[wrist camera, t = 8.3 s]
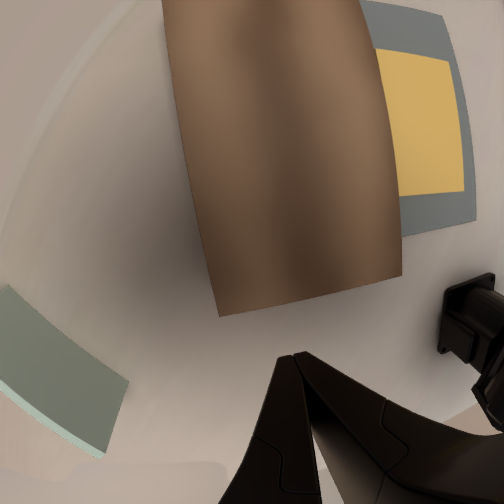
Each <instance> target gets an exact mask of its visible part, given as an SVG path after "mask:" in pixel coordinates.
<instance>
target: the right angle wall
mask: <svg viewBox="0 0 504 504" xmlns="http://www.w3.org/2000/svg"><path fill="white" fill-rule="evenodd" d="M128 383H129V381H127V380H126V379H124V378H123V377H121V376H120V375H118V374H117V373H115V372H114V371H112V370H111V369H109V368H108V367H107V366H105V365H104V364H102V363H101V362H99V361H98V360H97V359H95V358H94V357H93V356H91V355H90V354H89V353H87V352H86V351H84V350H83V349H82V348H81V347H79V346H78V345H77V344H75V343H74V342H73V341H72V340H70V339H69V338H68V337H66V336H65V335H64V334H63V333H62V332H60V331H59V330H58V329H57V328H55V327H54V326H53V325H52V324H51V323H50V322H48V321H47V320H46V319H45V318H44V317H43V316H41V315H40V314H39V313H38V312H37V311H36V310H35V309H34V308H33V307H31V306H30V305H29V304H28V303H27V302H26V301H25V300H24V299H23V298H22V297H21V296H20V295H19V294H18V293H17V292H16V291H15V290H13V289H12V288H11V287H10V286H9V285H8V286H7V287H5V288H4V289H2V290H1V291H0V390H1V391H2V392H3V393H4V394H5V395H6V396H8V397H9V398H10V399H11V400H12V401H14V402H15V403H16V404H17V405H18V406H20V407H21V408H22V409H24V410H25V411H26V412H27V413H29V414H30V415H31V416H33V417H34V418H35V419H37V420H38V421H39V422H41V423H42V424H44V425H45V426H46V427H48V428H49V429H51V430H52V431H54V432H55V433H57V434H58V435H60V436H61V437H63V438H64V439H66V440H67V441H69V442H70V443H72V444H74V445H75V446H77V447H79V448H80V449H82V450H84V451H85V452H87V453H89V454H90V455H92V456H94V457H96V458H98V459H100V458H101V457H103V456H104V455H105V454H106V450H107V447H108V444H109V441H110V437H111V434H112V431H113V428H114V425H115V422H116V419H117V416H118V412H119V409H120V406H121V404H122V401H123V398H124V395H125V392H126V389H127V386H128Z"/></svg>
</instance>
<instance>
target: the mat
mask: <svg viewBox="0 0 504 504" xmlns="http://www.w3.org/2000/svg"><path fill="white" fill-rule="evenodd" d="M359 2H360V5H361V8H362V11H363V14H364V17H365V20H366V23H367V26H368V30H369V33H370V36H371V40H372V44H373V47H374V49H383V50H391V51H397V52H404V53H409V54H415V55H420V56H425V57H430V58H435V59H439V60H444V61H448V62H449V66H450V71H451V76H452V81H453V86H454V91H455V97H456V103H457V110H458V117H459V124H460V133H461V143H462V155H463V172H464V191H460V192H446V193H433V194H421V195H410V196H399V201H400V216H401V237H404V236H409V235H413V234H418V233H423V232H427V231H432V230H436V229H441V228H445V227H450V226H454V225H459V224H463V223H467V222H472V221H476V182H475V167H474V156H473V146H472V138H471V131H470V124H469V117H468V111H467V106H466V100H465V95H464V91H463V86H462V81H461V77H460V73H459V69H458V65H457V61H456V58H455V54H454V51H453V47H452V44H451V41H450V37H449V34H448V31H447V28H446V25H445V22H444V20H443V17H442V16H441V15H437V14H434V13H430V12H426V11H422V10H417V9H413V8H408V7H403V6H398V5H392V4H387V3H380V2H373V1H366V0H359Z"/></svg>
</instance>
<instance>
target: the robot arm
mask: <svg viewBox="0 0 504 504" xmlns="http://www.w3.org/2000/svg"><path fill="white" fill-rule="evenodd" d="M494 284H495V274H493V273H488V274H485V275H483V276H480V277H477V278H475V279H472V280H470V281H467V282H464V283H461V284H459V285H456V286H453V287H450V288H448V289H447V290H446V292H445V295H444V305H443V314H442V322H441V330H440V337H439V343H438V349H437V350H438V352H439V353H440V354H445V353H447V352H449V351H452V352H453V353H454V354H455V355H457V356H458V357H459V358H460V359H461V360H462V361H463V362H464V363H465V364H468V363H469V364H470V365H472V366H473V367H474V368H475V369H476V370H477V371H478V372H479V373H480V374H481V376H480V377H479V379H478V381H477V382H476V384H474V385H473V387H472V389H471V390H472V392H473V394H474V395H475V398H476V399H477V401H478V403H479V404H480V406H481V407H482V409H483V411H484V413H485V414H486V416H487V418H488V420H489V421H490V423H491V425H492V426H493V427H495V429H496V430H498V431H501V432H503V433H501V434H496V435H489V436H482V435H474V434H470V433H467V432H464V431H461V430H458V429H455V428H452V427H449V426H447V425H444V424H441V423H438V422H436V421H433V420H430V419H428V418H426V417H423V416H421V415H418V414H416V413H414V412H412V411H410V410H408V409H406V408H404V407H402V406H400V405H398V404H396V403H394V402H392V401H390V400H387V399H386V398H385V397H383V396H381V395H380V394H378V393H376V392H374V391H373V390H371V389H369V388H367V387H366V386H364V385H362V384H360V383H359V382H357V381H355V380H353V379H352V378H350V377H348V376H347V375H345V374H343V373H342V372H340V371H338V370H337V369H335V368H333V367H332V366H330V365H328V364H327V363H325V362H323V361H322V360H320V359H318V358H317V357H315V356H313V355H312V354H310V353H309V352H307V351H304V352H300V353H295V354H293V356H292V355H287V356H282V357H279V358H278V359H277V362H276V365H275V368H274V371H273V374H272V378H271V381H270V384H269V387H268V390H267V393H266V396H265V399H264V402H263V405H262V408H261V411H260V414H259V417H258V420H257V423H256V426H255V429H254V432H253V436H252V437H251V440H250V443H249V446H248V448H247V451H246V453H245V456H244V458H243V461H242V463H241V465H240V467H239V468H238V470H237V472H236V474H235V476H234V478H233V480H232V481H231V483H230V485H229V486H228V488H227V490H226V492H225V493H224V495H223V496H222V498H221V500H220V501H219V503H218V504H322V498H321V491H320V484H319V477H318V470H317V463H316V456H315V450H314V443H313V437H312V434H313V436H314V438H315V441H316V443H317V445H318V447H319V449H320V452H321V454H322V456H323V458H324V460H325V463H326V465H327V467H328V469H329V471H330V473H331V476H332V478H333V480H334V482H335V484H336V486H337V488H338V491H339V493H340V495H341V497H342V499H343V501H344V504H504V296H503V295H501V294H499V293H497V292H496V291H494ZM450 293H451V294H450Z"/></svg>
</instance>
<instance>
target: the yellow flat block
mask: <svg viewBox="0 0 504 504" xmlns="http://www.w3.org/2000/svg"><path fill="white" fill-rule="evenodd" d="M374 51H375V55H376V59H377V63H378V67H379V71H380V75H381V80H382V84H383V89H384V93H385V98H386V104H387V109H388V114H389V120H390V126H391V132H392V139H393V146H394V153H395V161H396V169H397V179H398V189H399V196H410V195H421V194H433V193H446V192H460V191H464V172H463V155H462V143H461V133H460V124H459V117H458V110H457V103H456V97H455V91H454V86H453V81H452V76H451V71H450V66H449V62H448V61H444V60H439V59H435V58H430V57H425V56H420V55H415V54H409V53H404V52H397V51H391V50H383V49H374Z"/></svg>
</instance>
